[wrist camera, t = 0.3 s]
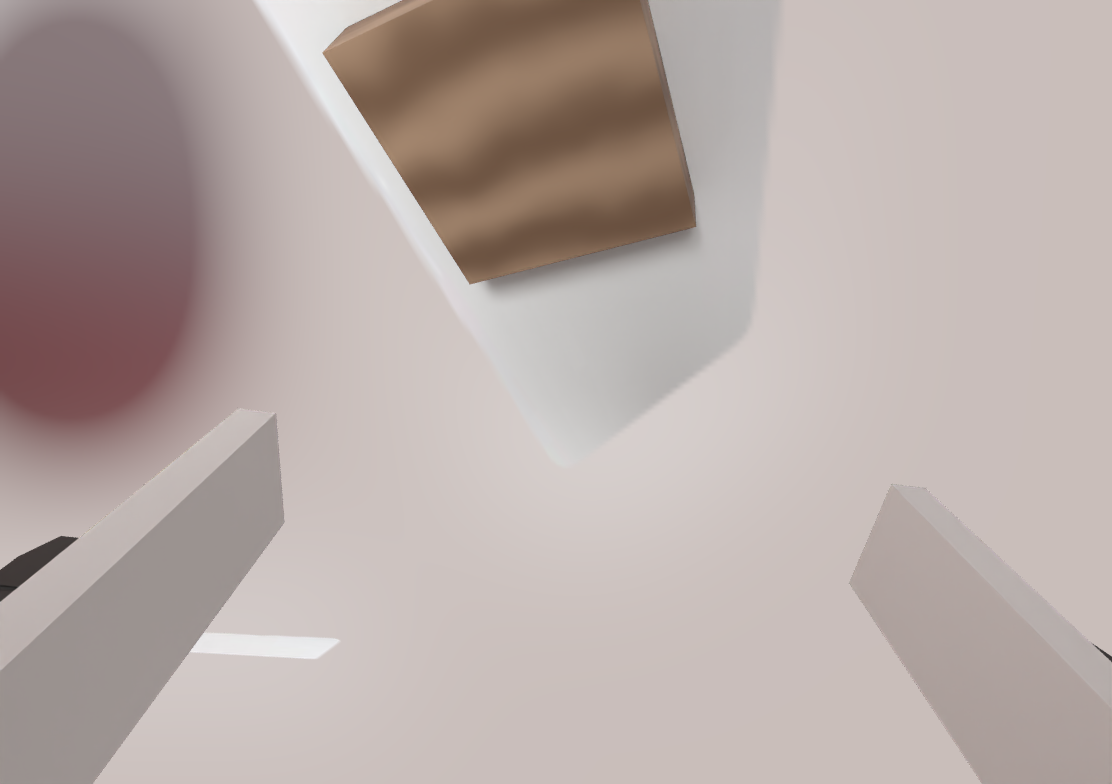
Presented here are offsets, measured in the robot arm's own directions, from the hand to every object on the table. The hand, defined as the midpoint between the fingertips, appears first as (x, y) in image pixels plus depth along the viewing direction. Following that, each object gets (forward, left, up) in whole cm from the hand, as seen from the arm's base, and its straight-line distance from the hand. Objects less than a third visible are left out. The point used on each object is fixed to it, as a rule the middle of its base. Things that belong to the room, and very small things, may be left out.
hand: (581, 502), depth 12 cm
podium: (+4, -8, -32) cm, 34 cm away
